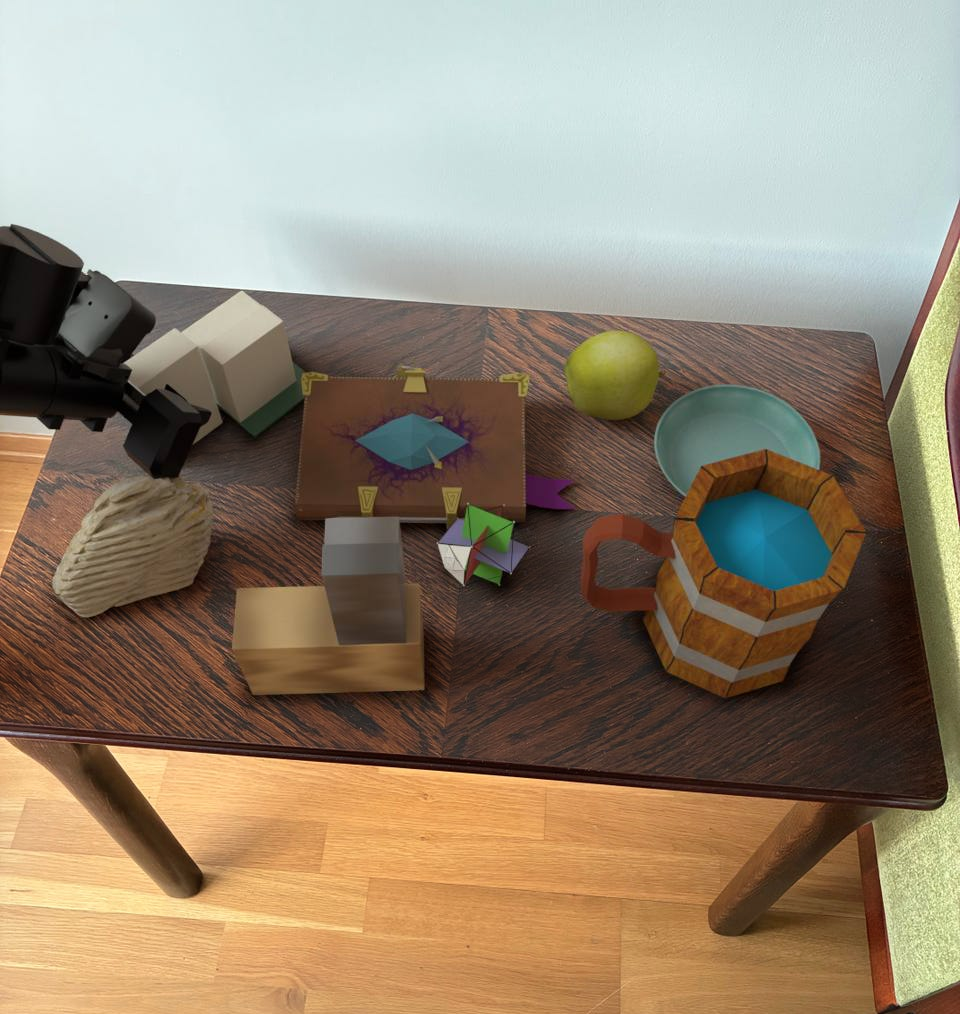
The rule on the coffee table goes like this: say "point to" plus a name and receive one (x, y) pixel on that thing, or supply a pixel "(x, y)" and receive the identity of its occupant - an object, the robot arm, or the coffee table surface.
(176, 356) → the cream rectangular block
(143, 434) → the robot arm
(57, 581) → the fossil tooth
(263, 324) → the cream and green block
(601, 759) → the coffee table surface
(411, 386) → the book
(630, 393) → the apple
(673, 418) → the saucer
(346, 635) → the wood and grey block
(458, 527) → the geometric puzzle
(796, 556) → the mug
